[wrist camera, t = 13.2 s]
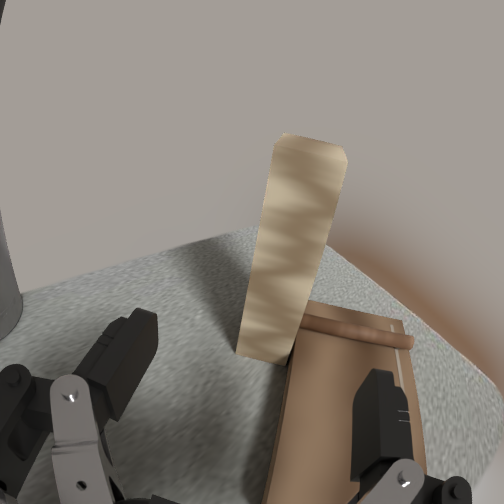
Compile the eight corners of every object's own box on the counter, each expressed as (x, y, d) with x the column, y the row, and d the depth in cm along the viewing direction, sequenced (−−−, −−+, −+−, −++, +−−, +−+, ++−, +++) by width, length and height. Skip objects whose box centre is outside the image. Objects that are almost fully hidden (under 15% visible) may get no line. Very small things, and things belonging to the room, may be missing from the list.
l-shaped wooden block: (235, 353, 25) (274, 145, 17) (248, 314, 29) (284, 132, 21) (399, 386, 23) (496, 212, 15) (393, 346, 28) (467, 186, 19)
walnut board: (258, 517, 13) (265, 510, 12) (296, 314, 30) (301, 297, 29) (411, 525, 13) (429, 516, 11) (393, 335, 29) (402, 320, 28)
